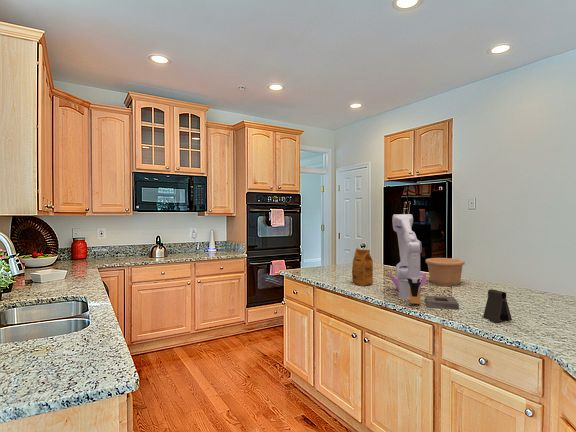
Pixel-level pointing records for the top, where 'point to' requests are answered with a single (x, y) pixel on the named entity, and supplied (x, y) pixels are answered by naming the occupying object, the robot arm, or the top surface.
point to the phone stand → (497, 307)
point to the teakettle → (398, 280)
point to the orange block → (415, 299)
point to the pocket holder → (441, 302)
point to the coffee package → (362, 268)
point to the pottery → (445, 271)
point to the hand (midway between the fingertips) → (414, 295)
